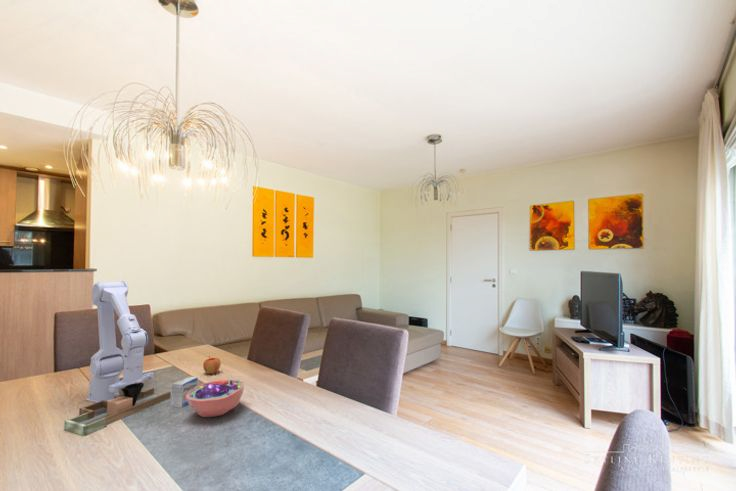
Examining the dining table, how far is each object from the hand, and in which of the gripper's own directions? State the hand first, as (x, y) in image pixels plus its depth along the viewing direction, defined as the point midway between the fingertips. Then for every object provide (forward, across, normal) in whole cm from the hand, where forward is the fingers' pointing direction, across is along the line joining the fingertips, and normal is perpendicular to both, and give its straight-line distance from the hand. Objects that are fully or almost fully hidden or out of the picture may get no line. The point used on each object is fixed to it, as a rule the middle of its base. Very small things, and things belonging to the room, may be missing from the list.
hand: (131, 405), depth 118 cm
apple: (+2, +40, +3) cm, 40 cm away
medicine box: (+2, +10, -13) cm, 17 cm away
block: (+1, -4, 0) cm, 4 cm away
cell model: (+2, +9, -29) cm, 31 cm away
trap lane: (+1, -3, +3) cm, 4 cm away
